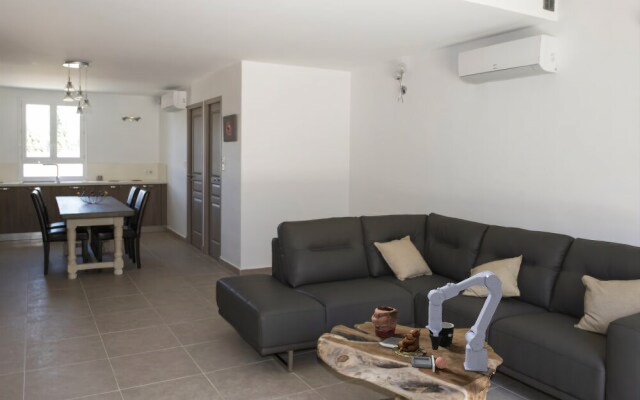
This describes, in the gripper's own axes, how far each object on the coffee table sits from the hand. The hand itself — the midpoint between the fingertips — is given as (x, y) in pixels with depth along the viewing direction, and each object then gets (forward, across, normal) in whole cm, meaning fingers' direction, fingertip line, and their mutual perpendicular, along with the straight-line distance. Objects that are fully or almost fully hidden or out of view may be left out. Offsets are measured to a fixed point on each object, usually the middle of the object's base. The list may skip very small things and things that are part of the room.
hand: (434, 346), depth 243 cm
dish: (+9, -3, -6) cm, 11 cm away
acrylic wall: (+9, 0, -1) cm, 9 cm away
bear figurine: (+10, -17, -11) cm, 22 cm away
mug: (+10, -31, +7) cm, 34 cm away
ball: (+9, +1, +3) cm, 10 cm away
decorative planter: (+10, -41, -23) cm, 48 cm away
